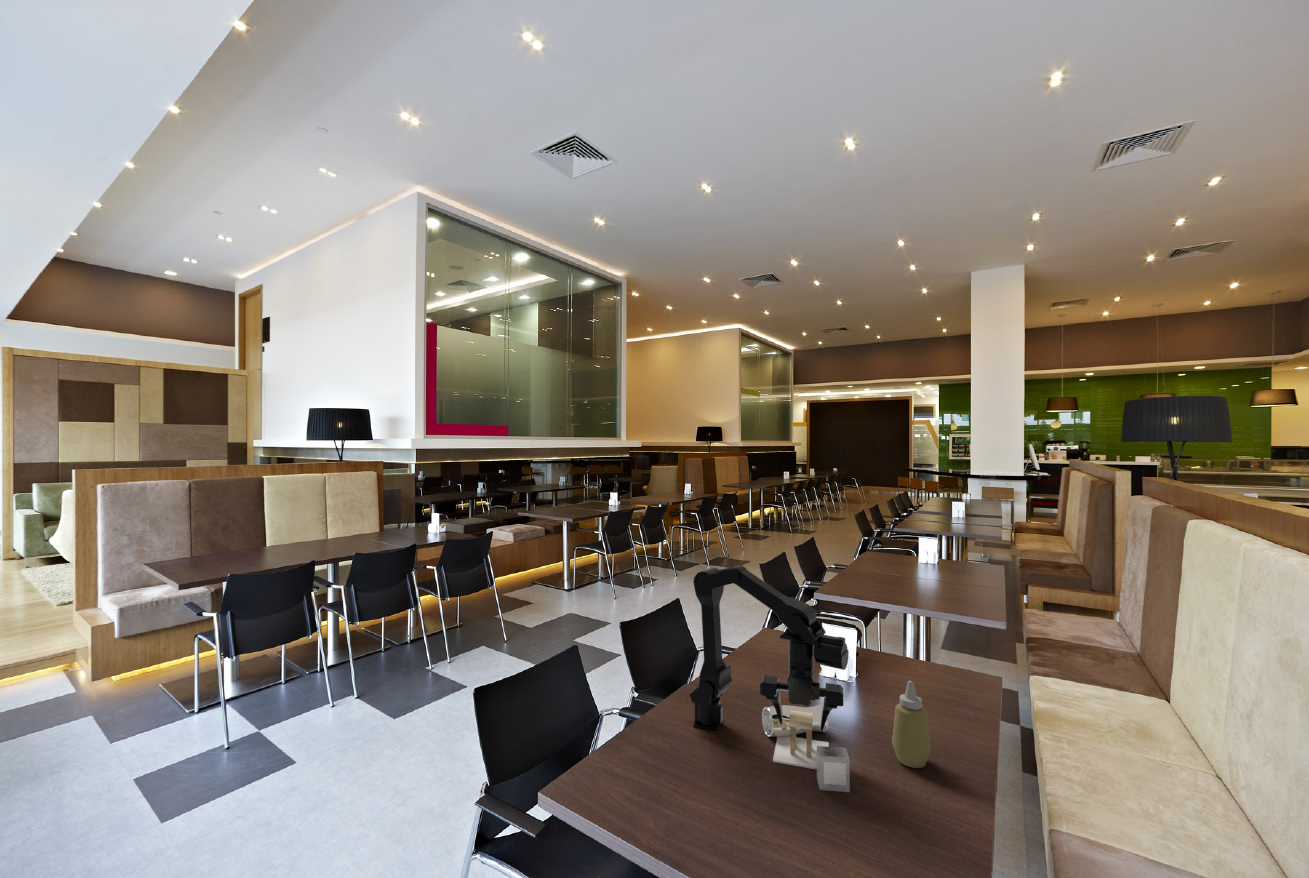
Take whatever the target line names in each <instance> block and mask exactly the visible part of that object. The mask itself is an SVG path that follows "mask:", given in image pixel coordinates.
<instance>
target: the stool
mask: <svg viewBox="0 0 1309 878" xmlns="http://www.w3.org/2000/svg"><path fill="white" fill-rule="evenodd" d="M812 722H813V713H806V712H799V711H793V710H791V713H790V719H789V726H790V755H795V747H796V737H797V735H796V727H797V728H803V729H806V732H805V733H806V736H805V737H806V738H805V739H806V754H807V757H808V758H811V750H812V740H813V733H812V732H813V731H812Z"/></svg>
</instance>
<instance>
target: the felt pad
mask: <svg viewBox="0 0 1309 878" xmlns="http://www.w3.org/2000/svg"><path fill="white" fill-rule="evenodd" d="M817 746H826V747H830V746H829V742H828V741H821V740H816V739H812V750H811V758H808V757H807V754H806V738H803V737H797V736H796V747H795V755H790V736H786V737H776V743H775V747H774V753H773V758H772V762H773V763H777V764H783V765H789V766H795V767H800V768H807V769H812V770H817Z"/></svg>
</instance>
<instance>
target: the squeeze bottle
mask: <svg viewBox="0 0 1309 878" xmlns="http://www.w3.org/2000/svg"><path fill="white" fill-rule="evenodd" d="M894 709H895V711H894V718H893V729H892V730H893V731H892V738H891V744H892V747H893V750H894V752H895V755H896V759H897V760H898V762H899V763H901V764H902V765H904V766H905V767H910V768H913V769H920V768H921V769H922V768H924V767H925V766H926V764H927V762H928V759H929V757H930V754H931V750H932V747H931V738H930V728H929V722H928V712H927V711H926V709H925V708H924V707H923V699H922V698H921V697H919V696H918V695H917V692H916V687H915V683H914V681H911V680H908V681H907V684H906V688H905V693H903V694H900V695H899V703H897V704H896V705H895V708H894Z"/></svg>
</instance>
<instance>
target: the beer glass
mask: <svg viewBox="0 0 1309 878" xmlns="http://www.w3.org/2000/svg"><path fill="white" fill-rule="evenodd" d="M781 705H782V704H781ZM791 710H793V711H799V712H806V713H813V722H812V732H819V733H820V732H821V733H825V732H827V731H828V729H829V716H828V717H827V720H826V723H825V726H824V728H823V731H821V717H822V710H823V705H821V704H819V705H813V706H807V707H803V706H796V705H786V704H783V705H782V725H781V724H780V722H779V719H778V716H777V713H776V710H775V707H774V705H773V706H764V707H763V710H762V712H761V713H762V714H761V720H762V721H761V723H762V729H763V730H764V733H765V735H766V736H767V737H768V738H769V737H774V738H775V737H776V738H777V737H786V736H790V726H789V719H790V713H791ZM803 733H806V729H803V728H797V727H796V736H797V735H799V734H803Z"/></svg>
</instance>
